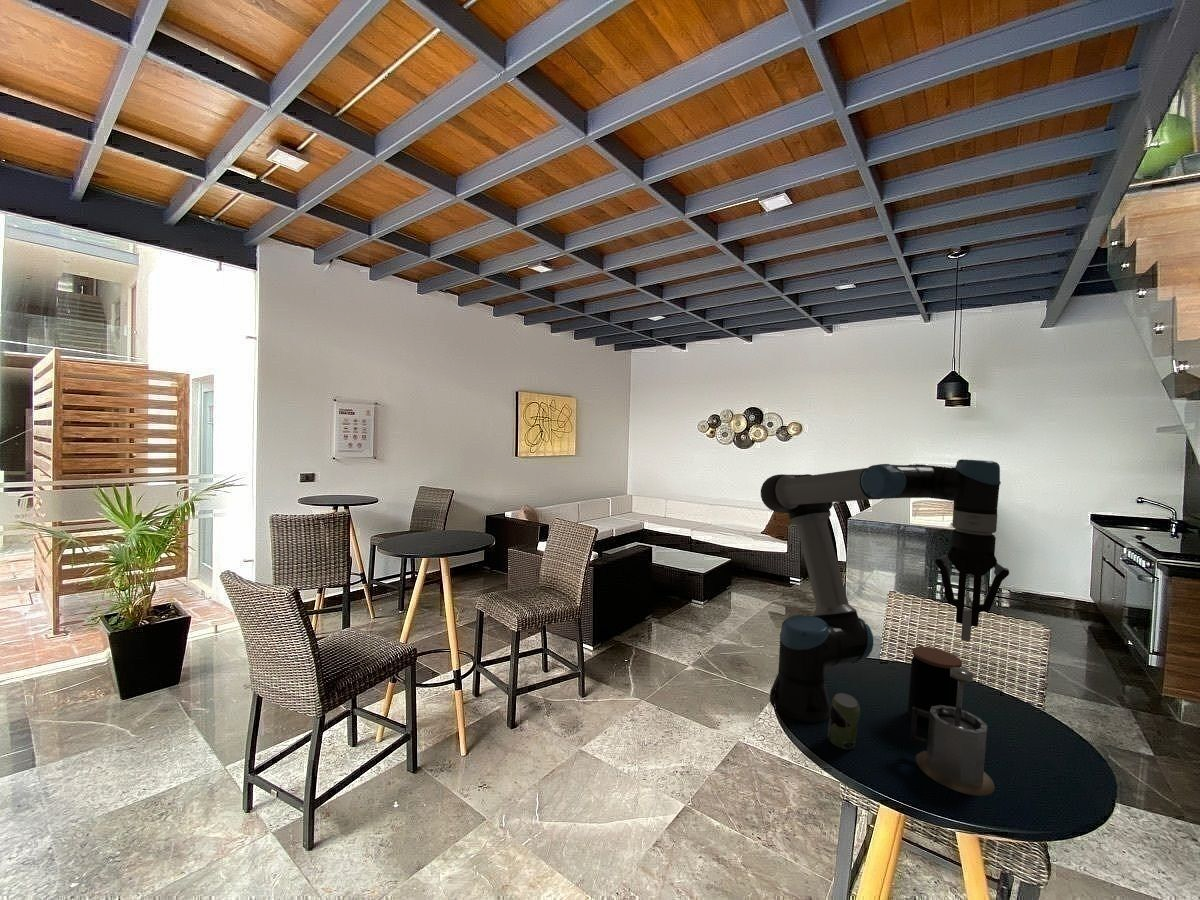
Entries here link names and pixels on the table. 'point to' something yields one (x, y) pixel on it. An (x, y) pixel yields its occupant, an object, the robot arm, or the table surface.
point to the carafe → (953, 746)
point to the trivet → (981, 791)
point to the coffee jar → (931, 681)
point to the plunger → (959, 697)
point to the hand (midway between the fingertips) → (965, 639)
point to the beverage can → (843, 721)
